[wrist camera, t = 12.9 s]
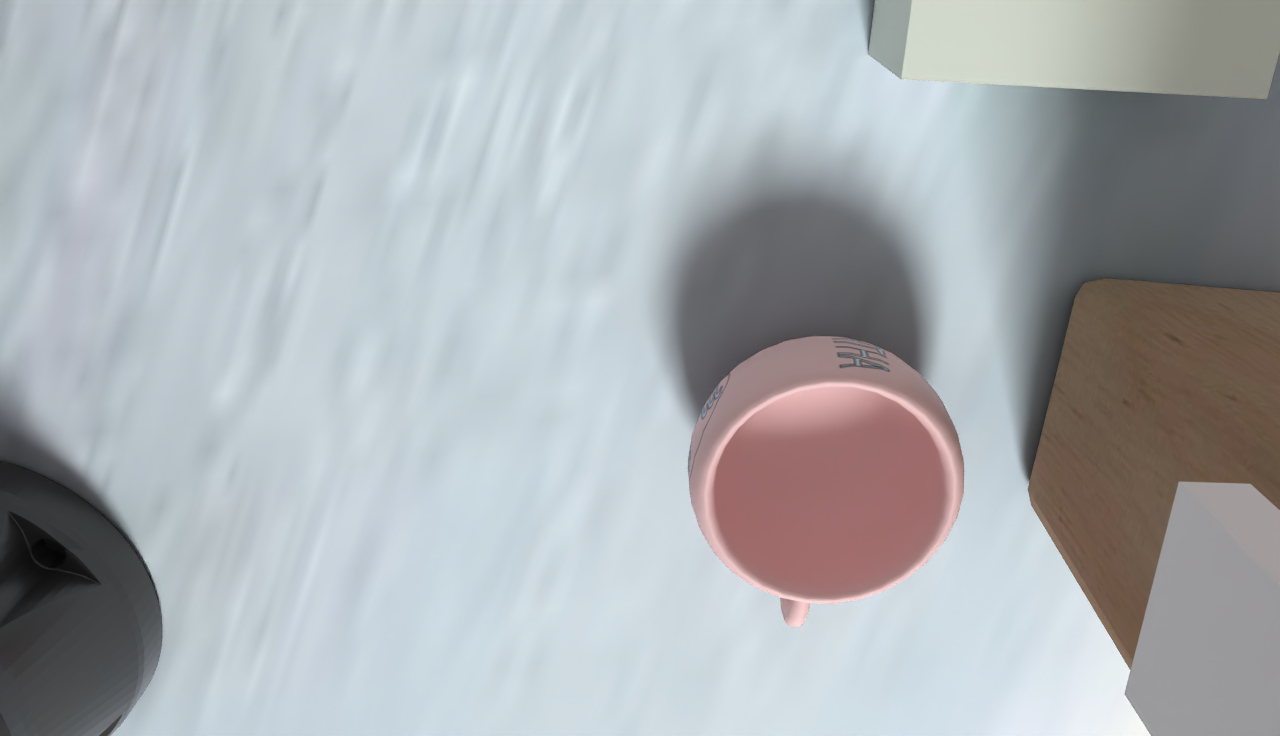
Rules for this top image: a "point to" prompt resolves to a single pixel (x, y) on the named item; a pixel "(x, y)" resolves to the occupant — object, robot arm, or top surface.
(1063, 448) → the wooden block
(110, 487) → the top surface
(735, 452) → the mug
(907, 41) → the socket block
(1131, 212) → the top surface
